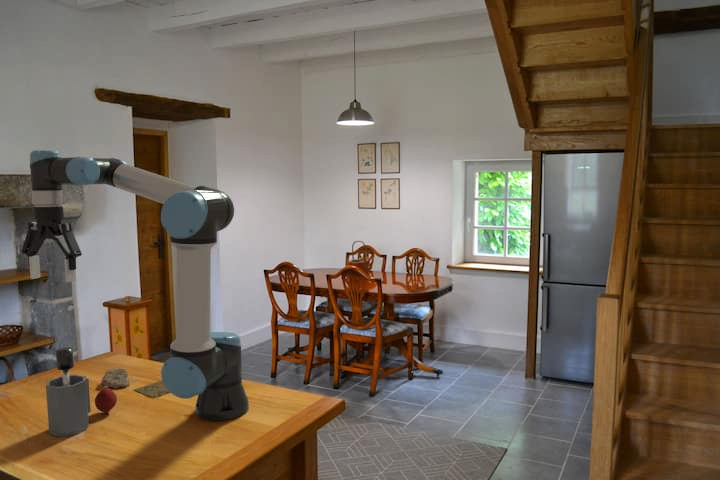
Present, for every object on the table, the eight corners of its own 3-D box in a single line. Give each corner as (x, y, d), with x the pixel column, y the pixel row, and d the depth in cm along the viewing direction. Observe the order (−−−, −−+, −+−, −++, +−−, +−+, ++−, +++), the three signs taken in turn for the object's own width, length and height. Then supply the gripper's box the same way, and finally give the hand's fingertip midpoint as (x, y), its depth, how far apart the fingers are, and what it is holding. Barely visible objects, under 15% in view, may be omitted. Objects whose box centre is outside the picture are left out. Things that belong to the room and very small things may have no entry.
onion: (109, 417, 162) (107, 390, 162) (91, 416, 164) (89, 389, 163) (121, 409, 168) (119, 383, 167) (104, 408, 169) (102, 382, 168)
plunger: (87, 413, 157) (83, 347, 155) (67, 423, 151) (63, 354, 149) (69, 410, 159) (65, 344, 157) (49, 419, 153) (44, 351, 151)
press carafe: (101, 421, 160) (98, 375, 158) (68, 439, 149) (64, 389, 148) (76, 416, 163) (73, 371, 162) (41, 433, 153) (38, 384, 151)
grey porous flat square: (165, 380, 193) (164, 377, 193) (186, 388, 186) (186, 385, 186) (132, 391, 184) (132, 388, 184) (153, 400, 176) (153, 397, 176)
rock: (99, 383, 190) (101, 387, 182) (103, 365, 191) (104, 368, 183) (126, 385, 194) (129, 389, 185) (130, 368, 195) (133, 371, 186)
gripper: (92, 205, 160) (96, 280, 163) (27, 204, 169) (32, 274, 171) (70, 207, 153) (75, 285, 156) (4, 205, 162) (9, 279, 165)
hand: (53, 279), depth 164 cm, fingers open, 13 cm apart
